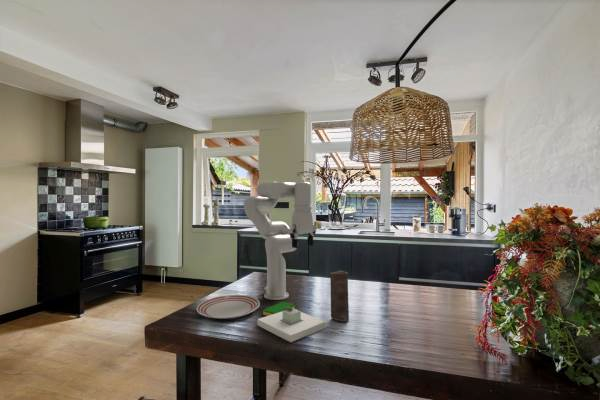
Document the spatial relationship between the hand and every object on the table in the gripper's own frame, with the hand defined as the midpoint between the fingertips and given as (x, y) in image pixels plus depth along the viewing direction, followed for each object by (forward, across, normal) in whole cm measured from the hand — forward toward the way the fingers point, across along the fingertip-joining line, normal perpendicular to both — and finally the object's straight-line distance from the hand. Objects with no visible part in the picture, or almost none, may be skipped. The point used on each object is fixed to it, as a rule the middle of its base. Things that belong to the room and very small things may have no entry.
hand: (302, 246), depth 140 cm
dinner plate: (+29, +26, -20) cm, 44 cm away
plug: (+28, +17, +12) cm, 35 cm away
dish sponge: (+29, +10, -5) cm, 31 cm away
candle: (+28, -2, +20) cm, 35 cm away
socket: (+28, +17, +12) cm, 35 cm away
